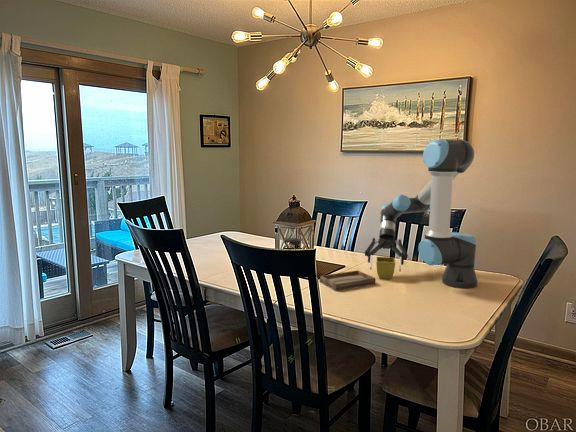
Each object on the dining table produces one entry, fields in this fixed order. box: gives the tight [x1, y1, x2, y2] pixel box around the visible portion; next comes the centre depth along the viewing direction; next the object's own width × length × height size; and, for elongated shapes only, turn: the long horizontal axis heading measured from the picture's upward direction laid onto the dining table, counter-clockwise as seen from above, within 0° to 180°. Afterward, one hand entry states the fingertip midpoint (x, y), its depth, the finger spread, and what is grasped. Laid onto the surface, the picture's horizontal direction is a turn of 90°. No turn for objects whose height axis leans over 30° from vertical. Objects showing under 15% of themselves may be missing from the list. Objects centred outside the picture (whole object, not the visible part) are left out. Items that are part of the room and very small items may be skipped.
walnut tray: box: [319, 269, 376, 292], centre depth 202 cm, size 14×21×3 cm, turn 116°
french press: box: [283, 228, 303, 250], centre depth 219 cm, size 12×9×23 cm
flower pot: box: [375, 256, 396, 280], centre depth 210 cm, size 9×9×9 cm
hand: (385, 269), depth 207 cm, fingers open, 13 cm apart
